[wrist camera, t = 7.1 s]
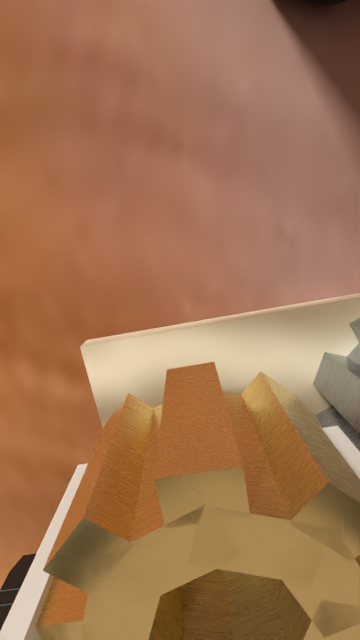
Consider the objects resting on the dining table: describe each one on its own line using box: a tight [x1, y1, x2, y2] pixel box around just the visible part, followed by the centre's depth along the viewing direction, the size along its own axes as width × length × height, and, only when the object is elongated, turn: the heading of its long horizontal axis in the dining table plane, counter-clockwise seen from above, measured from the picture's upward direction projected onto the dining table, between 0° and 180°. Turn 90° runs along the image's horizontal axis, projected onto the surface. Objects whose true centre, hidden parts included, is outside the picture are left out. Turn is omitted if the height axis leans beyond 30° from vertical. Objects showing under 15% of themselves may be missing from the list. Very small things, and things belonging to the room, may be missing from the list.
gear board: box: [80, 293, 360, 428], centre depth 16 cm, size 11×23×5 cm, turn 100°
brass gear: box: [36, 362, 360, 640], centre depth 11 cm, size 10×10×6 cm
